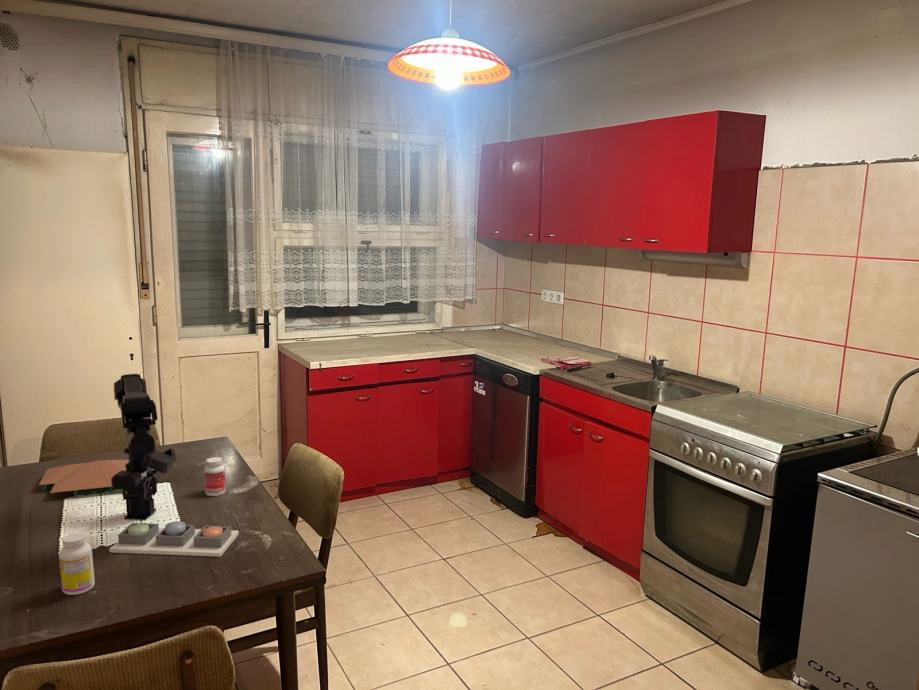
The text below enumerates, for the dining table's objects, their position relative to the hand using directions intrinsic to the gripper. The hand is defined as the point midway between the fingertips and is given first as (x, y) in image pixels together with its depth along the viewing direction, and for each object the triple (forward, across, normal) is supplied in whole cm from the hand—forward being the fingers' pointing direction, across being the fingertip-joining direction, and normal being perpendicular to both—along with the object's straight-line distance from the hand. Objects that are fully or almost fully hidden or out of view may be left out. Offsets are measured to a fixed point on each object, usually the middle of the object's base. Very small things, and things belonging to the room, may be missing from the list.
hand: (143, 499), depth 182 cm
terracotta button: (+9, -2, -19) cm, 22 cm away
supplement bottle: (+11, -26, +2) cm, 29 cm away
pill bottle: (+11, +32, -6) cm, 34 cm away
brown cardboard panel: (+12, +36, +34) cm, 51 cm away
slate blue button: (+8, -2, -9) cm, 13 cm away
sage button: (+10, -2, +1) cm, 10 cm away
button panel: (+11, -2, -10) cm, 15 cm away
